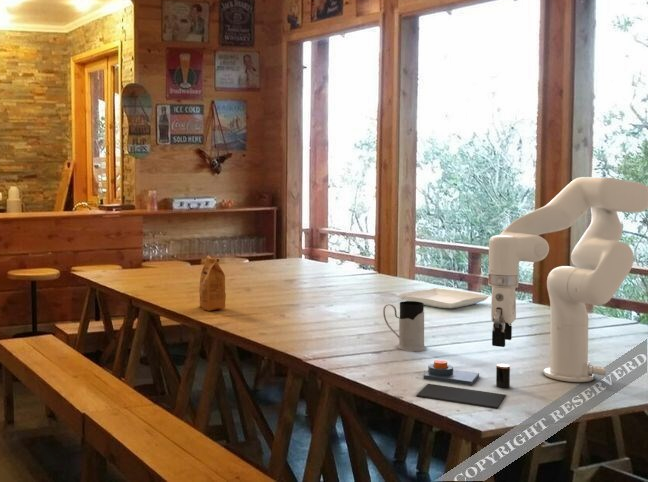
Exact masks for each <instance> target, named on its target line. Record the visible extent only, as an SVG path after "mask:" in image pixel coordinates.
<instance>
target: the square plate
mask: <svg viewBox="0 0 648 482" xmlns="http://www.w3.org/2000/svg"><path fill="white" fill-rule="evenodd" d="M396 296H397V297H398V298H399V299H400V300H402V301H416V302H422V303H424V306H428V307H432V308H433V307H434V308H439V309H459V308H462V307H469V306H473V305H475V304H477V303H482V302H484V301H486V300H487V299H488V298H489V297H490V295H488V294H487V295H486V294H481V293H475V292H469V291H462V290H456V289H448V288H447V289H446V288H435V287H434V288H427V289H426V288H425V289H420V290H413V291H409V292H403V293H399V294H397V295H396Z"/></svg>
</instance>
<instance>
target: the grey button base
mask: <svg viewBox="0 0 648 482" xmlns="http://www.w3.org/2000/svg"><path fill="white" fill-rule="evenodd" d="M427 367H428V371H427V372H425V374H423V380H428V381H436V382H442V383H443V382H444V383H449V384H456V385H463V386H465V385H466V386H470V387H471V386H473V385H474V384H475V382H476V381H477V380H478V379H479V378H480V373H479V372H474V371H466V370H458V369H454V367H453V366H452V365H450V364H447V368H445V369H441V368H435V367H434V363H429V365H428V366H427Z"/></svg>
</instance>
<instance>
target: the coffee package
mask: <svg viewBox="0 0 648 482" xmlns="http://www.w3.org/2000/svg"><path fill="white" fill-rule="evenodd" d="M219 263H220V259H219V258H213V257H211V256H210V255H207V256H206V258H205V260H204V263H203V266H202V269H201V272H200V276H199V277H200V279H199V287H198V294H199V308H201V309H202V310H204V311H208V312H211V311H216V310H222V309H225V308H226V299H227V293H226V275H225V273H224V271H223V269H222V268H221V266H220V265H219Z"/></svg>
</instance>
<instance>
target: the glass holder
mask: <svg viewBox="0 0 648 482" xmlns="http://www.w3.org/2000/svg"><path fill="white" fill-rule="evenodd" d="M388 306H390V307H392V308H393V310H394V316H395V318H396V319H398V328H399V329H398V333H399V334H398V333H397V332H396V331H395V330H394V329H393V328H392V327H391V326H390V323H389V322H388V320H387V317H386V308H387V307H388ZM424 307H425V305H424V303H422V302H416V301H404V300H402V301H400V302H399V316H398V315H397V309H396V306H395V305H394V304H391V303H389V304H386V305H384V307H383V310H382V313H383V319H384V322H385V324H386V326H387V327H388V328H389V329H390V330H391V332H392V333H394V335H395V336H396V337H397V338H398V346H397V349H399V350H400V351H401V350H402V351H408V352H423V351H425V350H426V349H427V348H426V346H425V310H424V309H425V308H424Z"/></svg>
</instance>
